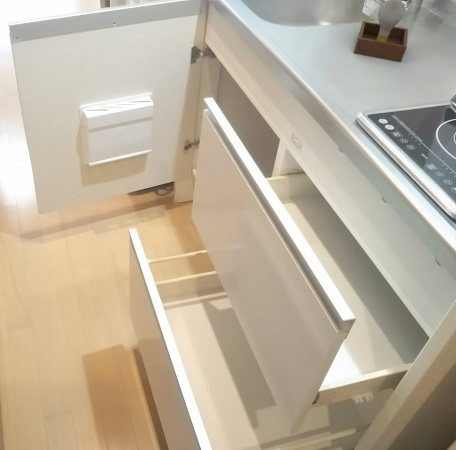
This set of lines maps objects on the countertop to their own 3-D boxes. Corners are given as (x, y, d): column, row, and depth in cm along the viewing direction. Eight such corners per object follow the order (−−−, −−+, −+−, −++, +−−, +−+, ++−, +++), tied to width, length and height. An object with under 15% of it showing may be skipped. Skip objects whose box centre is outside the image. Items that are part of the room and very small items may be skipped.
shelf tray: (402, 43, 124) (408, 28, 122) (400, 62, 116) (406, 47, 114) (358, 35, 127) (362, 20, 124) (353, 53, 119) (358, 38, 117)
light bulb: (392, 50, 118) (408, 6, 112) (367, 46, 120) (382, 2, 113) (392, 41, 122) (408, -2, 115) (369, 37, 123) (383, -6, 117)
